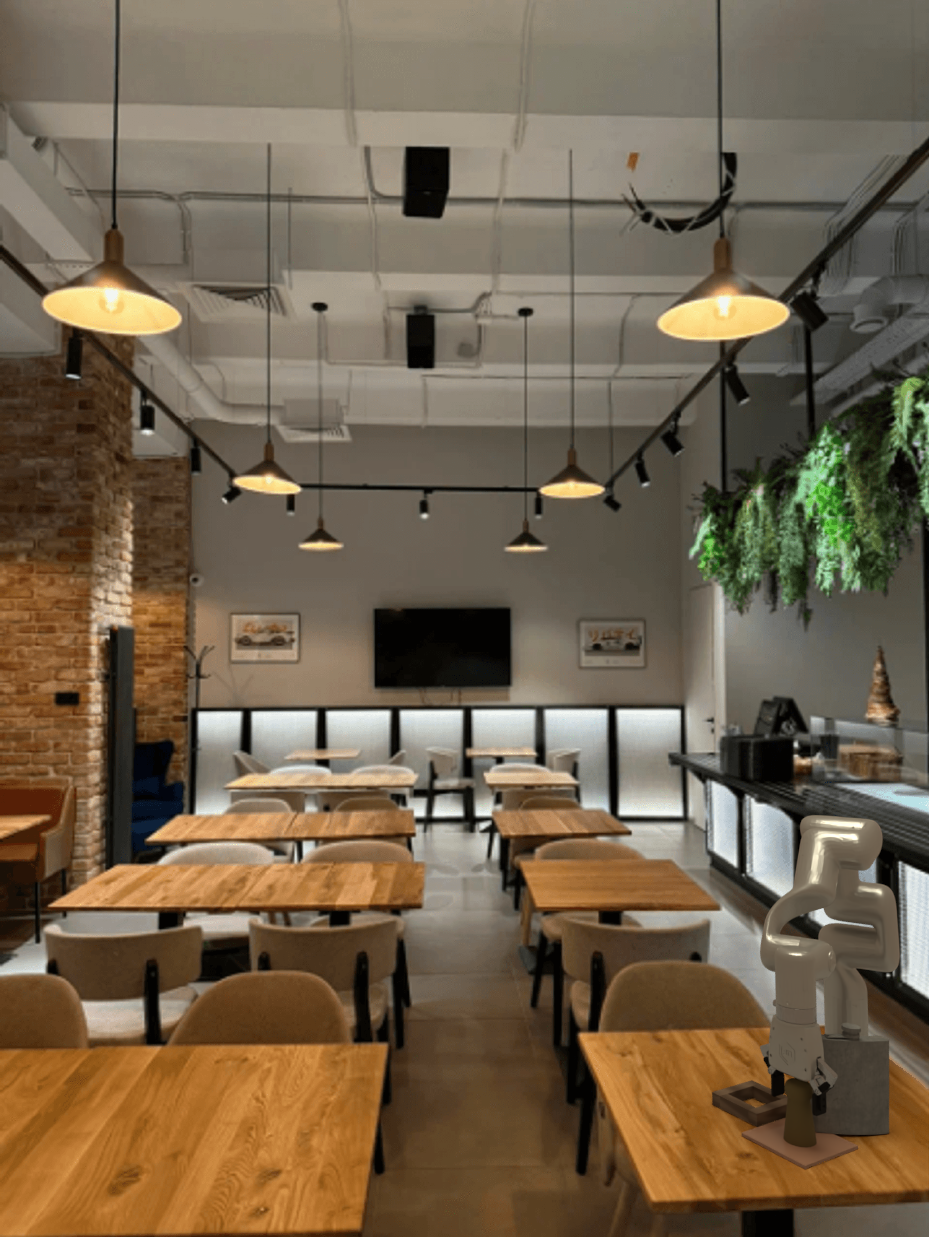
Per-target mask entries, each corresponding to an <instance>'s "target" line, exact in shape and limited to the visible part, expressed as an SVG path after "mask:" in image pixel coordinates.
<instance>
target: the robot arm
mask: <svg viewBox="0 0 929 1237" xmlns="http://www.w3.org/2000/svg"><path fill="white" fill-rule="evenodd" d="M799 830H800V836H801V839H800V843H799V849H798V855H797V861H796V868H795V875H794V879H793V880H794V881H793V886H792V888H791V889H790V890H789V891H788V892H786V893H785V894H783V895H782V896H781V897H780V898H779V899H778V900H777V901H776V902H775V903H773V905H772V907H771V908H770V909H769V911H768V913H767V914H766V917H765V919H764V924H763V929H762V934H761V939H760V948H759V949H760V950H759V957H760V961H761V963H762V965H763V967H764V968H765V969H767V970H768V971H771V972H773V973H774V978H775V979H774V981H775V982H774V983H775V984H774V985H775V989H774V990H775V999H773V1000H772V1005H773V1007H775V1014H773V1015H772V1018H771V1022H770V1028H769V1037H768V1043H766V1044H765V1043H764V1044H762V1045H760V1046H759V1049H760V1052H761V1055H762V1057H763V1060H762V1061H763V1062H764V1064H765V1065H766V1068H767V1073H768V1074H769V1075H770V1089H771V1095H772V1096H773V1097H776V1096H779V1095H782V1094H783V1095H785V1089H784V1087H785V1082H786V1081H785V1079H786V1078H785V1075H787V1076H790V1077H791V1078H796V1079H799V1080H801V1081H804V1082H810V1084H811V1086H812V1088H813V1090H814V1092H815V1093H813V1094H812V1113H813V1115H815V1116H819V1115H822V1114H824V1113H826V1108H827V1105H826V1093H827V1092H829V1090H830V1089H832V1088H833V1087H834V1084H835V1082H836V1080H837V1077H838V1076H837V1074H836V1073H835V1072H834V1071H833V1070H832V1069H831V1068H830V1067H829V1066H828V1065H827V1064H826V1063H825V1062H824V1049H823V1041H822V1035H821V1034H822V1032H821V1031H822V1030H821V1028H820V1024H819V1023H818V1012H817V1011H818V1010H817V1009H818V1008H817V1006H818V1005H817V982H818V981H822V980H823V1007H824V1008H823V1009H824V1010H823V1011H824V1012H823V1015H824V1034H842V1031H844V1030H842V1029H841V1025H842V1024H843V1023H850V1024H855V1025H858V1026H860V1027H861V1032H860V1033H859V1034H860V1036H870V1035H869V1010H868V1008H869V1006H868V1005H869V1004H868V1003H869V1002H868V1001H869V1000H868V988H867V984H866V981H865V980H864V978H863V977H862V975H861V974H860V972H859V971H858V970H857V969H862V970H869V971H873V972H874V971H875V972H881V973H891V972H894V971H896V969H897V968H898V966H899V964H900V959H901V957H900V952H901V951H900V939H899V926H898V925H899V924H898V923H899V922H898V911H897V903H896V902H897V901H896V897H895V895H894V892H893V891H892V889H891V888H890V887H889V886H888V885H885V884H882V883H877V882H869V881H862V880H861V879H860V875H859V873H860V872H859V871H861V872H862V871H867V870H869V869H870V868H871V867H872V865H873V864H874V862H875V861H876V859H877V858H878V857H879V855H880V853H881V850H882V847H883V842H884V840H883V833H882V828H881V827H880V825H879V823H878V822H877V821H875V820H872V819H869V818H860V817H844V816H835V815H821V814H819V815H815V814H812V815H807V816H805V817H804V818H802V819H801V822H800V824H799ZM821 909H823V911H824V914H825V915H826V916H827V917H828V918H829V919H831V920H834V921H838V922H831V923H826V924H825V925H824V926H822V927H821V928H820V930H819V933H818V939H816V938H815V939H814V938H807V937H803V936H796V935H789V934H781V931H782V929H783V927H784V926H785V925H786V924H787V923H788V922H790V921H791V920H793V919H795V918H797V917H799V916H803V915H805V914H808V913H811V912H812V913H813V912H814V911H818V910H821ZM842 922H845V923H842ZM858 924H859V925H858ZM865 925H866V926H865ZM824 1074H825V1076H826V1081H825V1080H824V1078H823V1076H824ZM816 1080H817V1081H818V1082H819V1084H820V1086H819V1085H818V1084H817V1082H816Z"/></svg>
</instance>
